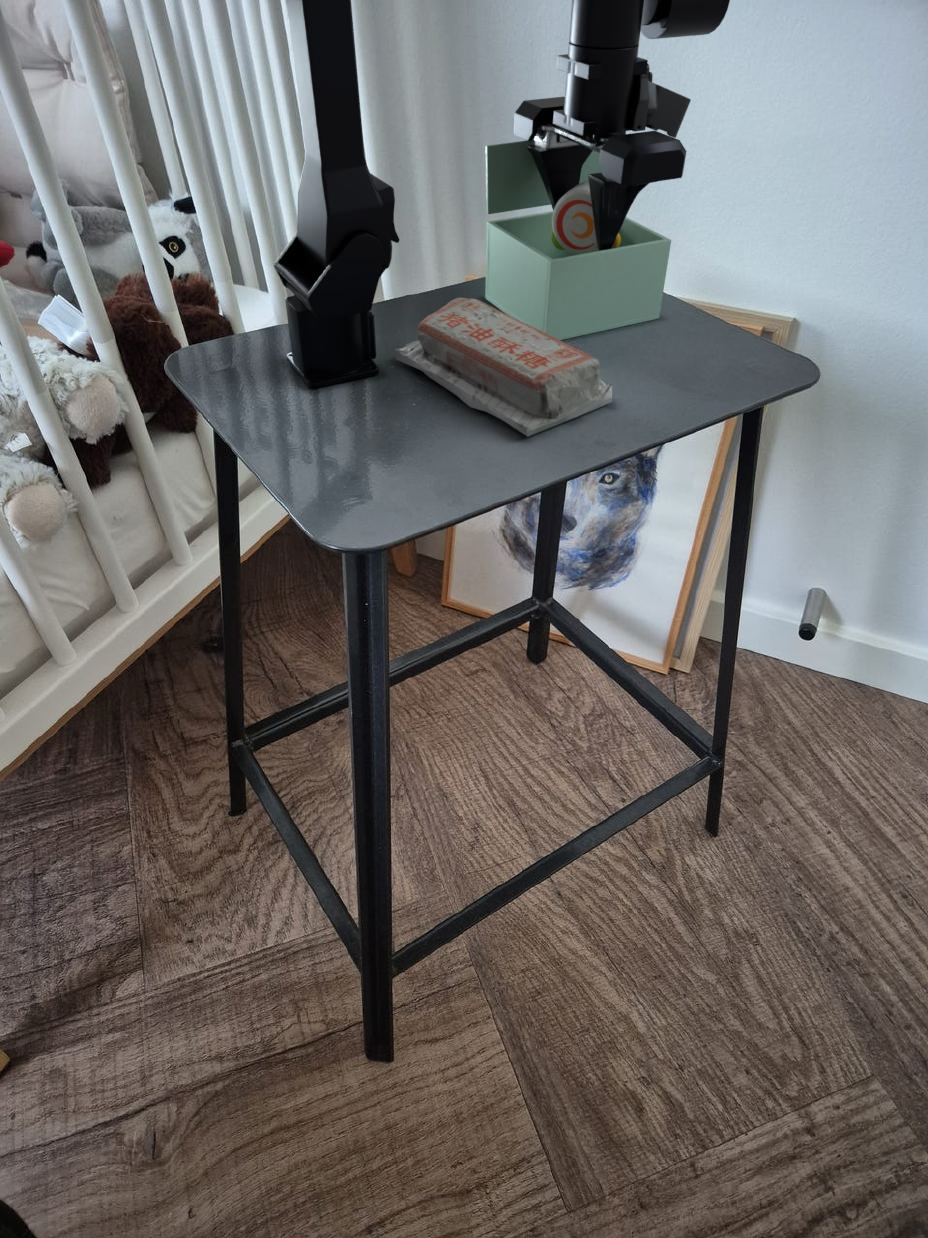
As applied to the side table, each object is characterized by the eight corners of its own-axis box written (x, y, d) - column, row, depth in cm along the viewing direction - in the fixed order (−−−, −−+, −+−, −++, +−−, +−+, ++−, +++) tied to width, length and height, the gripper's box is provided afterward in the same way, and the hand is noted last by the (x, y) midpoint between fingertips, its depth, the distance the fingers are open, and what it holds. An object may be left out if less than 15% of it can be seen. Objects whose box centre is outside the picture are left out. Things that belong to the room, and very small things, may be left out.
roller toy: (561, 238, 86) (566, 173, 82) (624, 247, 84) (632, 182, 80) (545, 252, 83) (550, 185, 79) (610, 262, 81) (618, 195, 77)
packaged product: (623, 349, 70) (530, 385, 66) (616, 404, 73) (527, 442, 69) (479, 281, 81) (390, 308, 76) (478, 332, 84) (393, 361, 79)
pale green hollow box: (545, 343, 82) (551, 261, 77) (485, 298, 90) (486, 221, 85) (659, 318, 87) (671, 239, 82) (592, 277, 95) (599, 203, 90)
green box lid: (487, 145, 81) (485, 145, 81) (488, 214, 85) (486, 213, 85) (604, 131, 86) (602, 130, 86) (601, 196, 89) (598, 195, 89)
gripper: (756, 55, 69) (716, 258, 79) (620, 21, 81) (601, 201, 92) (639, 65, 65) (613, 278, 75) (515, 28, 78) (507, 215, 88)
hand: (584, 239), depth 83 cm, fingers closed on roller toy, 6 cm apart
